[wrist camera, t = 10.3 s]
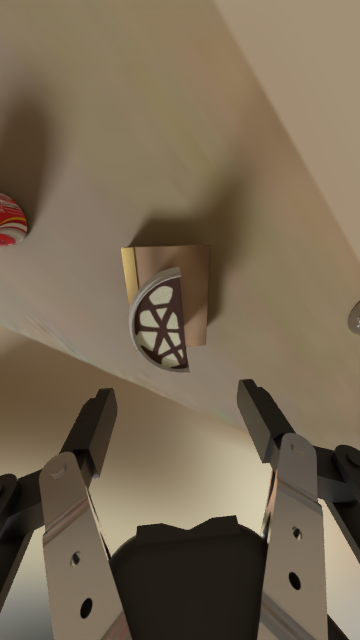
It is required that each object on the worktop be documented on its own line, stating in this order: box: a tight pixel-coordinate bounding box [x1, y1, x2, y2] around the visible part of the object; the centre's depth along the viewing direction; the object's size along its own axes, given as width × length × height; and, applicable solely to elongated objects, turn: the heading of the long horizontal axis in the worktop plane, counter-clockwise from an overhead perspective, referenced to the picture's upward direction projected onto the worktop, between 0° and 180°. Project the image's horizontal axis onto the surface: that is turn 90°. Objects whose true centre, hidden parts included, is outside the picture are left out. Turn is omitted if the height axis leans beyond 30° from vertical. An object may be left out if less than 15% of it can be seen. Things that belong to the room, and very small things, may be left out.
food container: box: [129, 267, 190, 374], centre depth 23 cm, size 12×6×10 cm, turn 5°
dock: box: [121, 245, 210, 350], centre depth 30 cm, size 12×16×5 cm
